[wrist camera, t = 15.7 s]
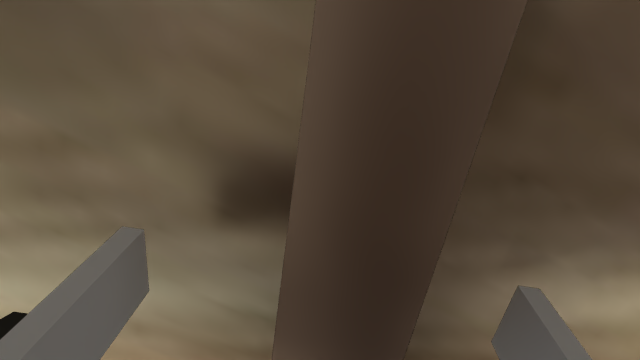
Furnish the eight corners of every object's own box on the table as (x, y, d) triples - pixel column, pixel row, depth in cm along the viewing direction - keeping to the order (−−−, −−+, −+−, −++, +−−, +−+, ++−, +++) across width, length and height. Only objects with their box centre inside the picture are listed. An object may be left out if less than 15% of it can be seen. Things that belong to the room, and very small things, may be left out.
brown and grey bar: (273, 417, 22) (248, 548, 16) (356, -173, 10) (364, -392, 5) (336, 428, 22) (332, 563, 16) (490, -153, 10) (649, -352, 5)
